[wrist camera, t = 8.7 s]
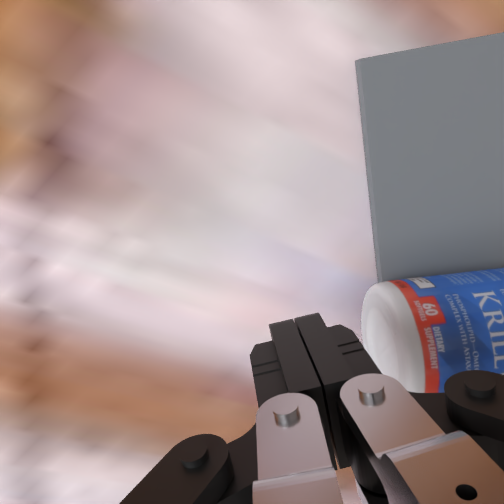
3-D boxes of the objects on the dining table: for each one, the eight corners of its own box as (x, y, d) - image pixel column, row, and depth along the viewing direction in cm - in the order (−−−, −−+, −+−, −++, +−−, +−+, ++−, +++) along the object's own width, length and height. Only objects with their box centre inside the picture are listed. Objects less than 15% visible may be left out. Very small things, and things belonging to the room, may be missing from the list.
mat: (355, 61, 18) (360, 58, 17) (618, 12, 18) (632, 8, 17) (393, 434, 23) (398, 442, 22) (598, 390, 23) (607, 396, 23)
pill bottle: (398, 287, 15) (668, 252, 16) (352, 280, 20) (554, 253, 21) (418, 450, 15) (689, 408, 16) (367, 399, 20) (569, 369, 21)
